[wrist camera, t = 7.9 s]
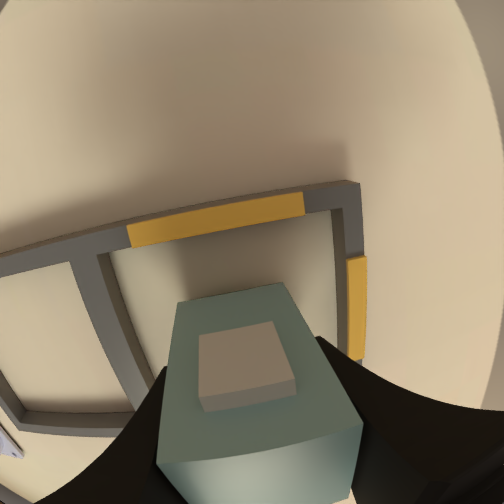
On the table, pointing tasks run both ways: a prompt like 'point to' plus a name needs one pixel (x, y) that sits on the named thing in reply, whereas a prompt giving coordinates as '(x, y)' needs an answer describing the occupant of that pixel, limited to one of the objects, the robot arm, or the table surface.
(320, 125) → the table surface
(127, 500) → the robot arm
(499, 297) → the table surface
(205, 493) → the pale teal rectangular block
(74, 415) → the dock
